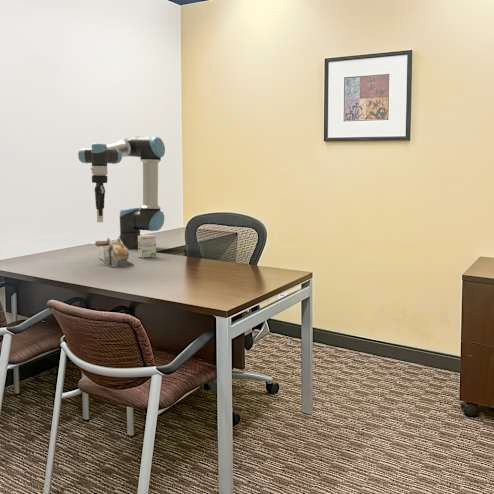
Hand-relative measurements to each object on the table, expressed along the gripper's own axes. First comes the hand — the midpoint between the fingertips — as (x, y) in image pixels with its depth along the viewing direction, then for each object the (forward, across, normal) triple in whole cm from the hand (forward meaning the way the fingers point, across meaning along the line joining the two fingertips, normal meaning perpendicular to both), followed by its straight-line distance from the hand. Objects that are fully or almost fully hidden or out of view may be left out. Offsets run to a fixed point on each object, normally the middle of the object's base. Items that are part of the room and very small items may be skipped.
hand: (100, 222), depth 282 cm
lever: (+14, +8, +4) cm, 16 cm away
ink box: (+20, -4, +26) cm, 33 cm away
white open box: (+20, -6, +7) cm, 22 cm away
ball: (+15, +14, +7) cm, 22 cm away
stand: (+20, +8, +7) cm, 23 cm away
